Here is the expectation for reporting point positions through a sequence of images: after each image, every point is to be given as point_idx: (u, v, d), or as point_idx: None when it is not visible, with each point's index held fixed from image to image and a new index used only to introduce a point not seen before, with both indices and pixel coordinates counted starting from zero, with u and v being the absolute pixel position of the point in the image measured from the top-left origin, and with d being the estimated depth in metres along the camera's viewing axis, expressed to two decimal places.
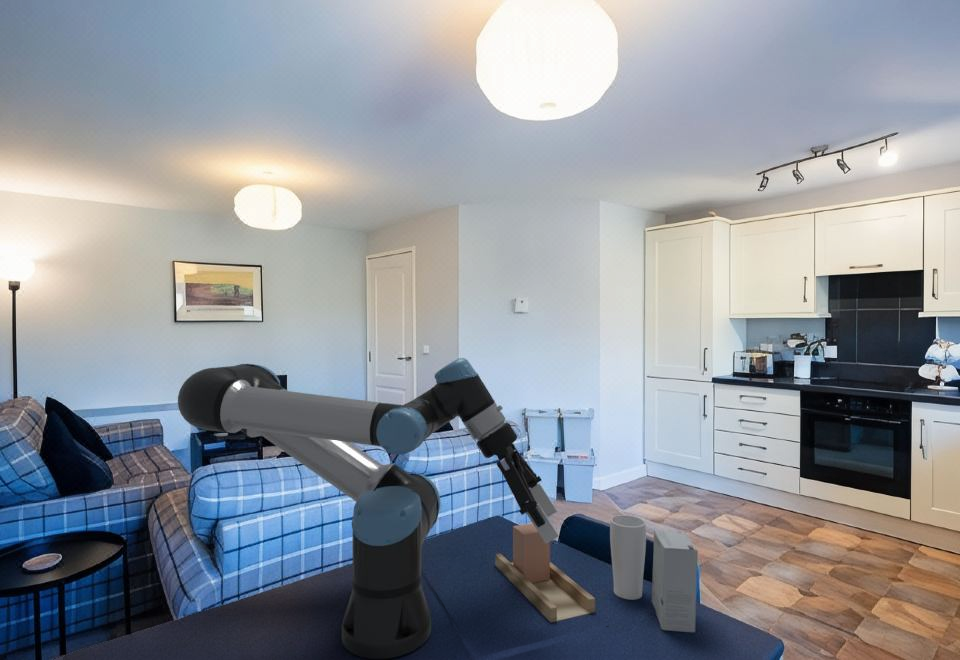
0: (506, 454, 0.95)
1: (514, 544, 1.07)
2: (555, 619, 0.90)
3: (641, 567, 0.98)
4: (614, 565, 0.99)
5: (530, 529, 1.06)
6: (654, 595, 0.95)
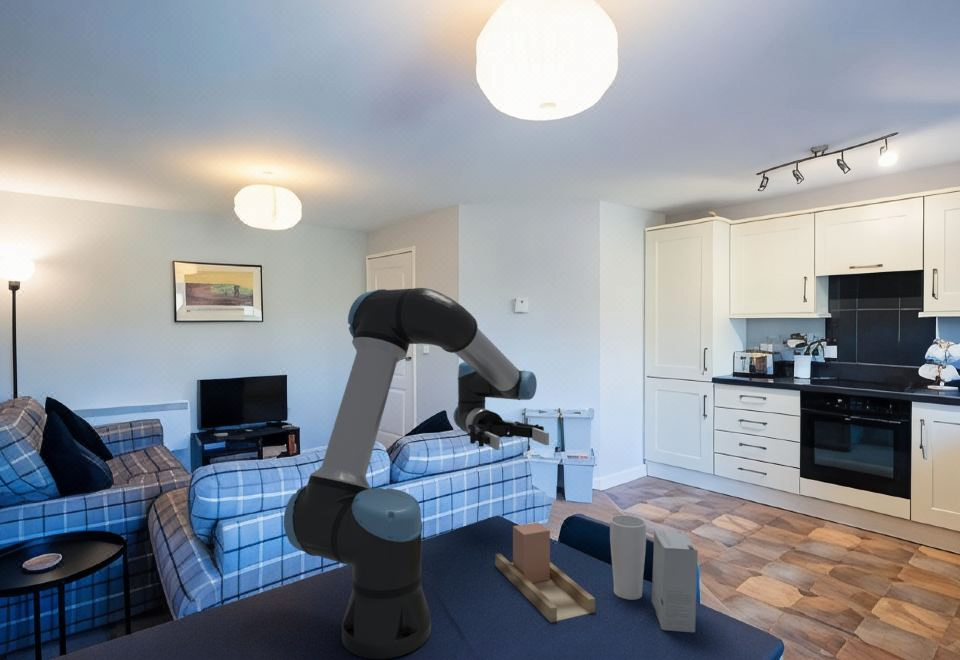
0: None
1: (514, 544, 1.07)
2: (555, 619, 0.90)
3: (641, 567, 0.98)
4: (614, 565, 0.99)
5: (530, 529, 1.06)
6: (654, 595, 0.95)
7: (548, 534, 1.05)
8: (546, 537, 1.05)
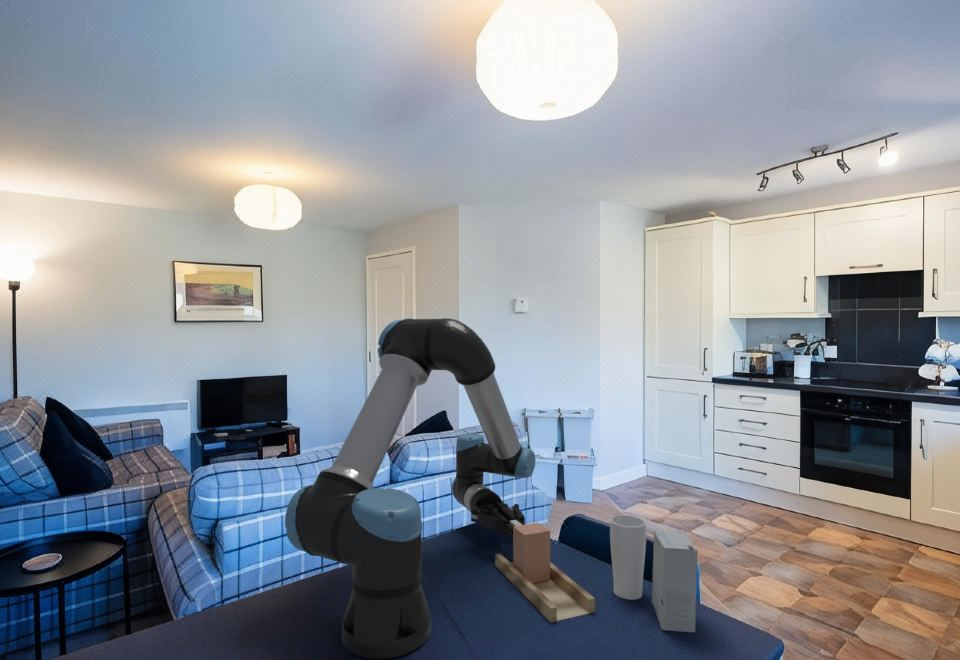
0: None
1: (514, 544, 1.07)
2: (555, 619, 0.90)
3: (641, 567, 0.98)
4: (614, 565, 0.99)
5: (530, 529, 1.06)
6: (654, 595, 0.95)
7: (548, 534, 1.05)
8: (546, 538, 1.05)
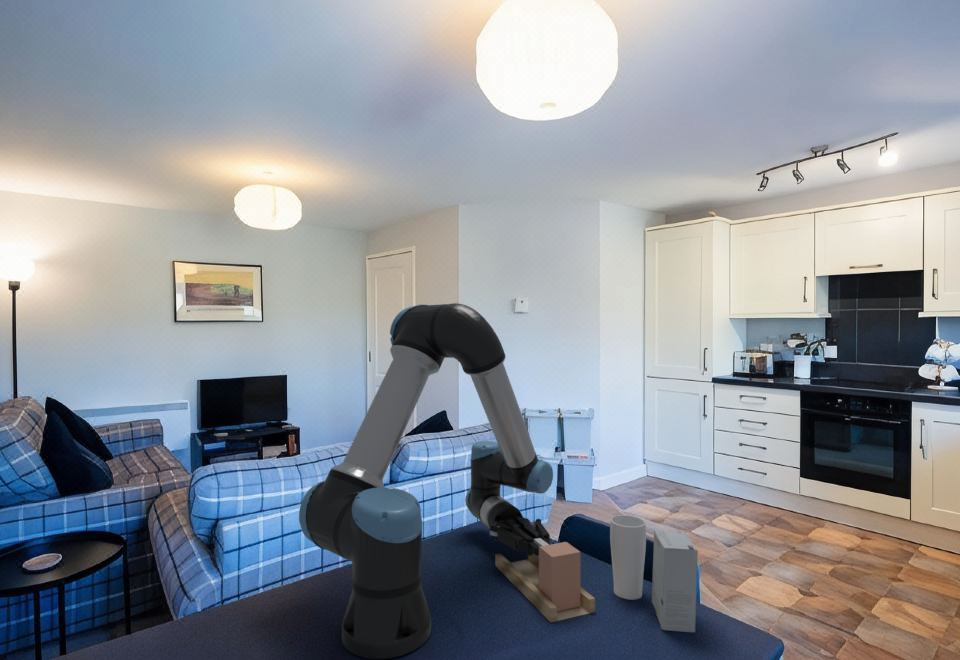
0: None
1: (540, 567, 0.96)
2: (555, 619, 0.90)
3: (641, 567, 0.98)
4: (614, 565, 0.99)
5: (558, 550, 0.95)
6: (654, 595, 0.95)
7: (578, 556, 0.95)
8: (576, 560, 0.94)
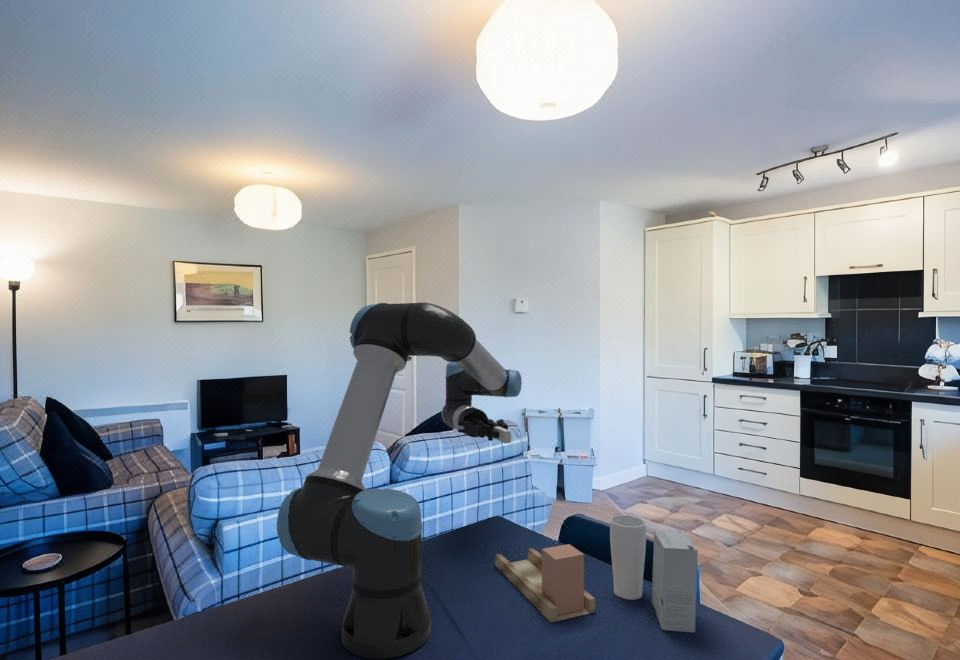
0: None
1: (543, 569, 0.95)
2: (555, 619, 0.90)
3: (641, 567, 0.98)
4: (614, 565, 0.99)
5: (561, 552, 0.94)
6: (654, 595, 0.95)
7: (582, 558, 0.94)
8: (580, 562, 0.93)
